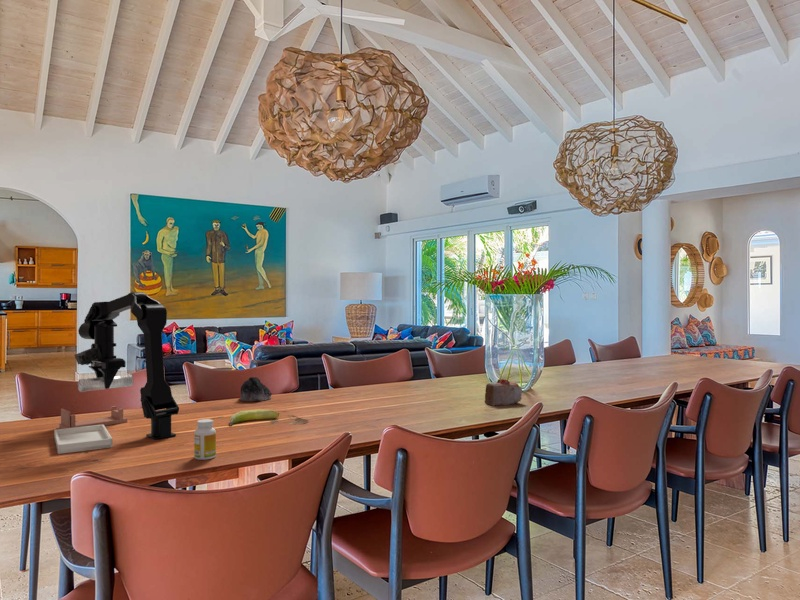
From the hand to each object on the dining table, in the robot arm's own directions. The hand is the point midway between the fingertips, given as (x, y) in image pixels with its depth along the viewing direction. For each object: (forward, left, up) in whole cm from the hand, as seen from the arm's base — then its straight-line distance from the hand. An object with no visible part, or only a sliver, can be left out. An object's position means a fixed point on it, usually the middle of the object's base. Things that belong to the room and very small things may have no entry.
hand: (104, 387), depth 194 cm
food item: (-73, -123, -12) cm, 144 cm away
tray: (-20, +14, -12) cm, 27 cm away
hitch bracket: (+1, +3, -12) cm, 12 cm away
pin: (0, -1, 0) cm, 1 cm away
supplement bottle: (-59, -3, -12) cm, 61 cm away
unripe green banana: (-30, -36, -13) cm, 49 cm away
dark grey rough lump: (+4, -60, -12) cm, 61 cm away
